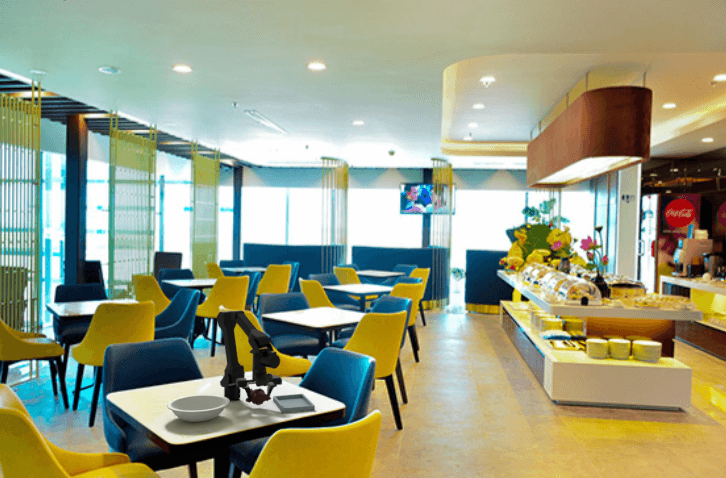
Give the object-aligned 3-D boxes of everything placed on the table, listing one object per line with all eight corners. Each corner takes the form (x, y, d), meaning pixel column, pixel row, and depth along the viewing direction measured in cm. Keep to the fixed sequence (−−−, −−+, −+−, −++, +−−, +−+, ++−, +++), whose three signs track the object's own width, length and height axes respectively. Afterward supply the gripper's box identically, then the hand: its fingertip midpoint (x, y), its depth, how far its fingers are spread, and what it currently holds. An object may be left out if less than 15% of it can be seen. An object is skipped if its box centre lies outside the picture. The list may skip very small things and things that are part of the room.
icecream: (278, 390, 241) (254, 387, 250) (265, 389, 235) (241, 386, 244) (276, 407, 239) (251, 403, 248) (263, 406, 233) (238, 403, 242)
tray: (282, 413, 235) (282, 408, 235) (273, 400, 253) (273, 396, 253) (314, 410, 240) (314, 405, 240) (302, 398, 258) (302, 393, 258)
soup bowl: (214, 406, 243) (214, 391, 243) (240, 421, 224) (240, 404, 224) (157, 417, 228) (158, 400, 228) (180, 433, 209) (180, 415, 209)
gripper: (239, 370, 231) (239, 409, 231) (285, 367, 237) (284, 405, 237) (235, 364, 241) (235, 401, 241) (279, 362, 248) (278, 398, 248)
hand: (258, 401), depth 241 cm, fingers closed on icecream, 7 cm apart
